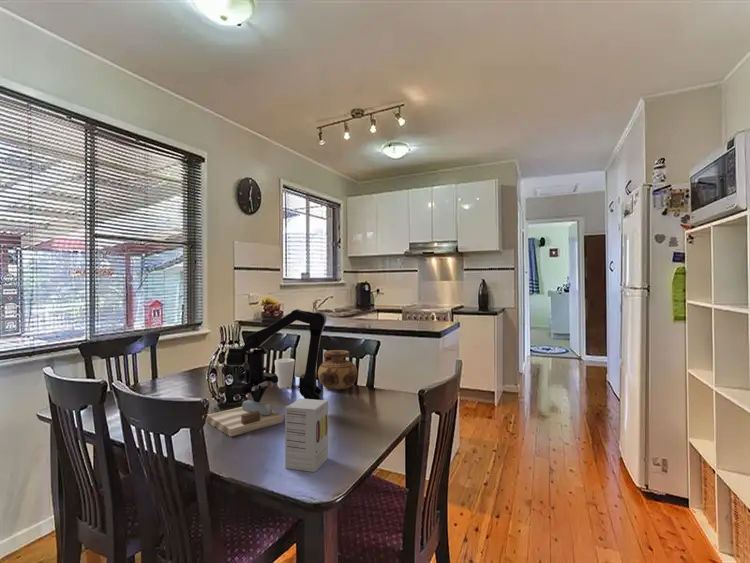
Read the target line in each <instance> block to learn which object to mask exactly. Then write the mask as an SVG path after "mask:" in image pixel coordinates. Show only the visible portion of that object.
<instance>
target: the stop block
mask: <svg viewBox="0 0 750 563" xmlns="http://www.w3.org/2000/svg"><path fill="white" fill-rule="evenodd" d="M257 421H260V412H259V411H255V412H251V413H247V414H243V415H241V424H243V425H246V424H250V423H253V422H257Z"/></svg>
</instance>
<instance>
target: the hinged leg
mask: <svg viewBox="0 0 750 563" xmlns="http://www.w3.org/2000/svg"><path fill="white" fill-rule="evenodd" d="M241 407H242V409H243V410H247V411H250V412H255V411H259V412H260V414H261V415H265V416H266V415H271V414H272V410H273V406H272V404H271V403H269V402H268V403H261V402H255V401H254V400H251V399H248V400H244V401H242V403H241Z"/></svg>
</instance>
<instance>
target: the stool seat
mask: <svg viewBox="0 0 750 563" xmlns="http://www.w3.org/2000/svg"><path fill="white" fill-rule="evenodd" d="M247 413H251V412H250V411H247V410H243V409H242V406H239V407H234V408H232V409H231V408H230V409H226V410H222V411H218V412H214V413H209V414H207V415H208V416H207V422H208V423H207V422H206V423H207V424H209V425H211V426H212V427H214V428H215V427H216V428H215V429H217V430H219V431H220V430H221V431H220V432H222V433H223V432H224V433H223V434H225V435H227V436H228V435H229V437H230V436H231V437H233V436H239V435H241V434H246V433H249V432H252V431H256V430H259V429H262V428H266V427H270V426H273V425H277V424H280V423H281V424H282V423H284V414H282V413H279V412H277V411H274V410H273V409H272V414H271V415H266V416H265V415H261V414H260V421H257V422H253V423H250V424H246V425H243V424H241V415H243V414H247Z"/></svg>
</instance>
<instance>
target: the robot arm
mask: <svg viewBox="0 0 750 563" xmlns="http://www.w3.org/2000/svg"><path fill="white" fill-rule="evenodd" d="M296 321H298V322H301V323H304V324H308V325H309V336H310V338H309V343H308V344H309V345H308V350H307V351H308V352H307V358H306V366H305V371H304V374H303V373H301V375H300V376H299V380H298V382H299V383H298V386H297V389H299V394H300V395H301V396H302V397H303V399H314V400H322V398H321V396H322V394H323V390H322V389H321V388H319V387H318V382H317V365H318V359H319V352H320V344H321V337H322V334H323V332H324V329H325V326H326V323H327V315H325V313H324V312H322V311H316V312H313V311H312V312H310V311H307V310H301V309H298V308H297V309H294V310H292V311H291V312H290V313H288V314H286V315H285V316H283V317H281V318H280V319H278V320H277V321H274V322H273V323H272V324H270V325H269V326H267V327H265V328H263V329H259V330H257V331H255V332H252V333H250V334H248V335H247V336H246V339H245V343H244V344H243V346H242V347H241V348H238V347H230V348H228V350H227V351H228V352H227V355H226V358H225V361H226V362H225V363H226V365H227V366H228V367H244V366H245V364H247V367H246V368H245V371H244V372H243V373H242V372H240V371H238V372H234V373H233V380H234V382H237V383H236V384H233V386H232V388H231V389H232V394H237V395H242V396H244V395H247V394H250V396H251V397H252V401H255V402H259V403H261V400H262V398H263V396H264V394H265V392H266V390H267V389H268V386H267V385H266V383H269V382H271V383H272V384H276V383H277V382H278V376H277V375H276V374H273V373H265V371H266V370H267V368H266V367H264V355H267V354H269V353H270V352H269V350H268V349H267V348H266V347H265V346H263V345H264V344H265V343H266V342H267V341H269V339H270V338H272V336H274V335H275V334H276V333H278V332H280V331H281V330H283V329H285V328H286V327H288V326H289V325H292V324H293V323H294V322H296ZM261 346H263V347H261ZM260 347H261V348H260ZM250 350H252V351H250ZM243 382H244V383H243ZM277 384H278V383H277Z"/></svg>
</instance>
